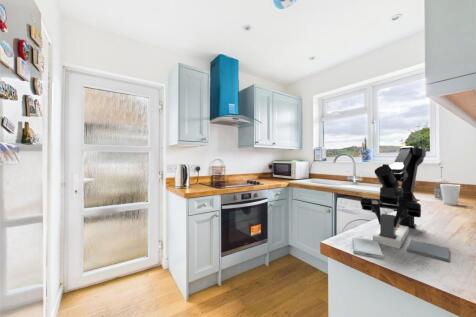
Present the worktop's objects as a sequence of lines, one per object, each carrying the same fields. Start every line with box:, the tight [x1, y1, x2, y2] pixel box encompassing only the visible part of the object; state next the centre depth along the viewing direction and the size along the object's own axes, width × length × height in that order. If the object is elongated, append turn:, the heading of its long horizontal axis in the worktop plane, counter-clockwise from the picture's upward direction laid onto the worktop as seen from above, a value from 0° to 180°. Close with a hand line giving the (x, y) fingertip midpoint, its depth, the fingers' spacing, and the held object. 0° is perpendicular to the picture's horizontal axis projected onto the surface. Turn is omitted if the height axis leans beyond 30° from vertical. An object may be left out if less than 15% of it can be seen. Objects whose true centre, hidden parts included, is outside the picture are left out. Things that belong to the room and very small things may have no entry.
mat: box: [406, 239, 450, 263], centre depth 69 cm, size 11×10×1 cm
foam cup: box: [439, 183, 461, 206], centre depth 138 cm, size 10×9×13 cm
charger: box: [379, 213, 396, 239], centre depth 76 cm, size 4×4×10 cm
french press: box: [432, 166, 450, 201], centre depth 154 cm, size 10×12×25 cm
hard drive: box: [352, 237, 385, 260], centre depth 71 cm, size 2×8×12 cm
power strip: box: [372, 224, 410, 250], centre depth 81 cm, size 22×8×3 cm, turn 133°
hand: (387, 225), depth 75 cm, fingers closed on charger, 4 cm apart
